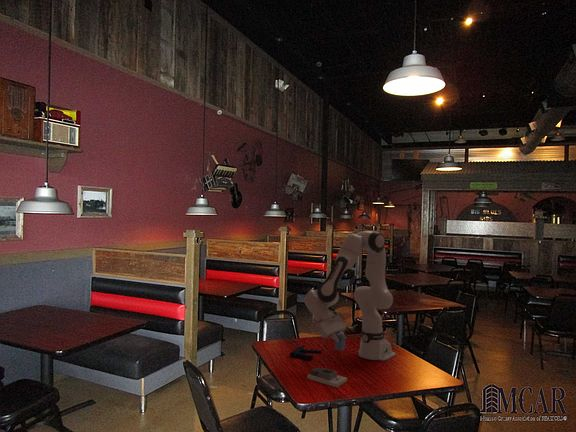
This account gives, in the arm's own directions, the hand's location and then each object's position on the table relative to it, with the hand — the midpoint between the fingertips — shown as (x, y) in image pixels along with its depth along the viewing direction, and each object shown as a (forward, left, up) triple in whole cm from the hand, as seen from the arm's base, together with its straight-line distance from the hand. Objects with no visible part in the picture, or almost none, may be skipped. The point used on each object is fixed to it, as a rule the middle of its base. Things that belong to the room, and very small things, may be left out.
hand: (341, 340), depth 204 cm
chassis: (+13, +4, -16) cm, 21 cm away
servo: (0, -1, -4) cm, 4 cm away
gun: (-4, -31, -16) cm, 36 cm away
